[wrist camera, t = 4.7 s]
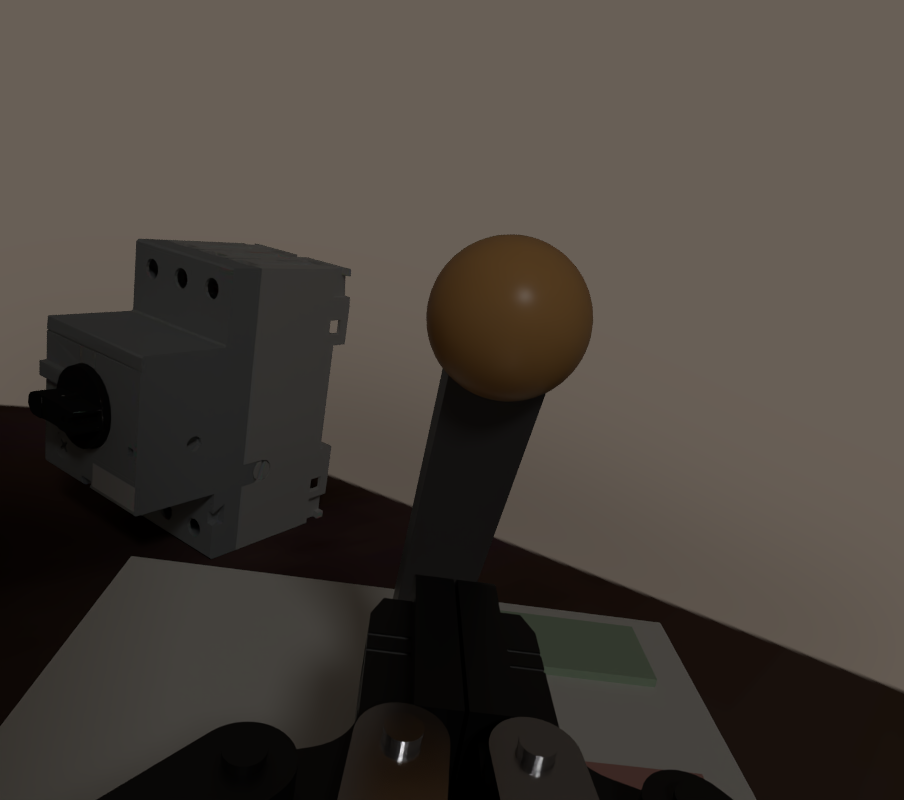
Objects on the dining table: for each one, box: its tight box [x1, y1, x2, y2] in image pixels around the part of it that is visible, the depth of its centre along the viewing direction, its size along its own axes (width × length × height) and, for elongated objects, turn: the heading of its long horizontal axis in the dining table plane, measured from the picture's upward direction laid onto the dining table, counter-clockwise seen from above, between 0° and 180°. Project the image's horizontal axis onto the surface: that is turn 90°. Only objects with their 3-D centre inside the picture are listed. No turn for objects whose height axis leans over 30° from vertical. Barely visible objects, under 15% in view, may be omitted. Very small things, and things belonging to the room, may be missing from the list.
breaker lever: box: [393, 235, 593, 601], centre depth 16 cm, size 3×3×15 cm
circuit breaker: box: [28, 239, 351, 559], centre depth 38 cm, size 8×14×15 cm, turn 145°
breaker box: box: [0, 556, 756, 800], centre depth 22 cm, size 20×12×6 cm, turn 92°
